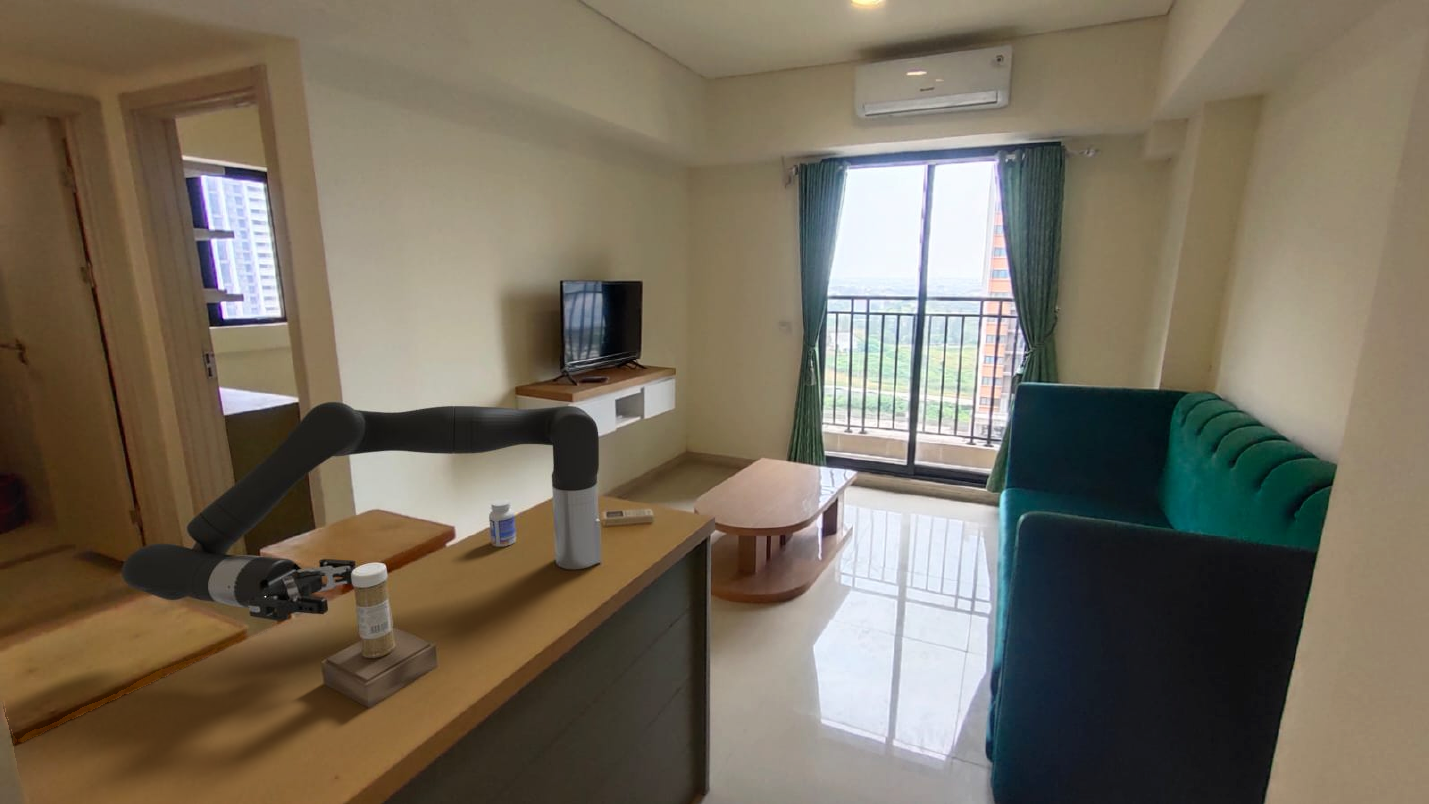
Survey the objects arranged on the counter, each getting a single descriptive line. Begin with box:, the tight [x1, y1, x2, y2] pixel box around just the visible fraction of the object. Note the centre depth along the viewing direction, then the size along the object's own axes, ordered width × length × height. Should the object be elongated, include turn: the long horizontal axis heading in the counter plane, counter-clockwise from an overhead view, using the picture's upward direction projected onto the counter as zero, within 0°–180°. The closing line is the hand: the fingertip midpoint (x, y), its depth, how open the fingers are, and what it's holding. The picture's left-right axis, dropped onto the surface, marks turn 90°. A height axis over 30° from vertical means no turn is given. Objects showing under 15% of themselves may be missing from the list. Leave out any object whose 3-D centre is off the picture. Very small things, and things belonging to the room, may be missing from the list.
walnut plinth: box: [320, 626, 438, 709], centre depth 93 cm, size 11×11×4 cm
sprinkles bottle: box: [351, 562, 395, 658], centre depth 91 cm, size 5×5×13 cm
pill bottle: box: [488, 499, 517, 548], centre depth 140 cm, size 5×5×10 cm
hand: (348, 591), depth 91 cm, fingers open, 8 cm apart
